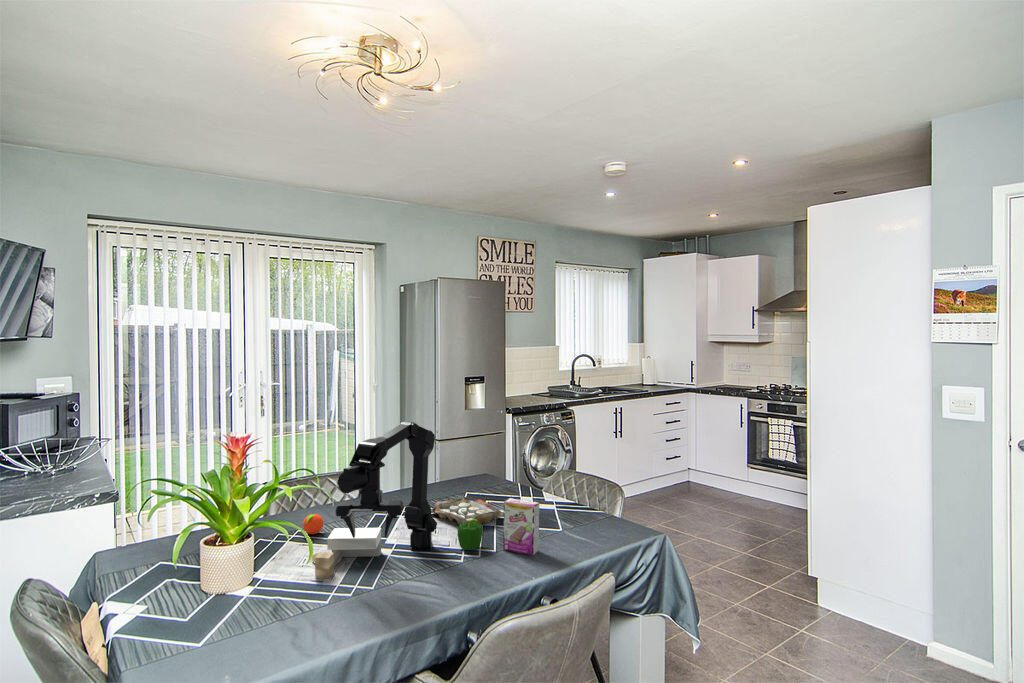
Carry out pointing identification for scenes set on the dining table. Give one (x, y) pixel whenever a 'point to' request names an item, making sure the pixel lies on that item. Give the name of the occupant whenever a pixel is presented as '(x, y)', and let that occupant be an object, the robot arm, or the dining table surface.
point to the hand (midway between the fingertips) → (370, 537)
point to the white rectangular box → (355, 542)
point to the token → (314, 557)
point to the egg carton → (466, 510)
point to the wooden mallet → (326, 563)
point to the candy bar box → (521, 526)
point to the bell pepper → (470, 535)
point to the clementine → (313, 523)
